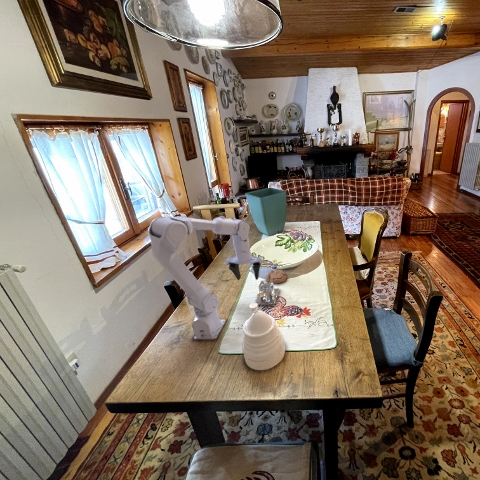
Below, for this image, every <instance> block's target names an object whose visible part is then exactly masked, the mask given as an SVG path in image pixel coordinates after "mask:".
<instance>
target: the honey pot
mask: <svg viewBox="0 0 480 480" xmlns="http://www.w3.org/2000/svg"><path fill="white" fill-rule="evenodd" d="M248 308H249V310H250V311H251V312H253V313H251V315H250V317H249V318H248V319H246V320H245V322H244V323H243V324H242V328H241V329H242V333H243V340H242V345H241V347H242V353H243V357H244V361H245V362H244V363H246V365H247V366H248V368H250V369H252V370H255V371H267V370H269V369H272V368H273V367H275V366H277V365H278V364H279V363H280V362H281V361H282V360H283V358H284V356H285V354H286V345H285V339H284V335H283V333H282V331H281V330H280V328H279V326H278V325H277V324H276V319H275V318H274V317H273V316H272V315H270V314H268V313H267V312H265V311H264V310H258V308H259V305H258V304H257V303H256V302H251V303H250V304H249V305H248Z"/></svg>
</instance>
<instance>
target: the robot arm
mask: <svg viewBox="0 0 480 480" xmlns="http://www.w3.org/2000/svg"><path fill="white" fill-rule="evenodd" d="M250 230H251V226H250V225H249V224H248V222H246V221H245V220H243V219H237V218H235V217H231V218H226V217H225V216H223V215H219V217H215V218H213V220H208V219H201V218H193V217H187V216H168V217H166V216H158V217H155V218H154V219H152V221H151V222H150V224H149V227H148V229H147V234H148V236H149V238H150V246H151V251H152V256H153V259H155V260H156V261H157V262H158V263H159V265H160V266H161V267H162V268H163V269H164V270H165V271H166V273H167V274H168V275H169V276H170V277H171V278H172V279H173V281H174V282H175V283H176V284H177V285H178V286H179V287H180V288H181V289H182V290H183V292H184V296H185V297H186V298H187V303H188V304H189V305H190V306H191V307H193V311H194V319H193V321H192V323H191V328H192V331H193V333H194V337H193V339H194V340H216V339H217V337H218V336H219V333H220V332H221V331H222V328H223V327H224V325H225V323H226V319H221V318H220V314H219V310H218V307H219V305H220V299H219V297H218V296H217V295H213V294H212V293H211V292H210V291H209V290H208V289H206V288H205V287H204V286H203V285H202V284H201V283H200V281H199V280H198V279H197V277H195V276H194V274H193V273H192V272H191V270H190V269H189V268H188V266H187V265H186V264H185V263H184V262H183V260H182V259H181V258H180V257H179V256H178V254H177V252H178V250H179V249H180V247H181V246H182V244H183V243H184V241H185V240H186V238H187V236H188V235H189V236H190V235H192V233H193V231H212V232H213V233H214V234H215V235H227V236H228V235H231V239H232V243H233V248H234V252H235V257H229V258H228V257H227V258H226V260H225V263H226V265H227V266H228V269H229V271H231V272H232V274H233V275H234V276H235V278H236V280H237V281H240V279H241V278H242V277H241V271H240V265H249V264H253V265H252V266H251V267H252V270H253V273H254V278H255V280H256V281H257V280H259V278H260V269H261V265H262V264H264V257H259V256H253V255H252V252H251V246H250V240H249V237H250V236H249V235H250V234H249V233H250Z"/></svg>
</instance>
